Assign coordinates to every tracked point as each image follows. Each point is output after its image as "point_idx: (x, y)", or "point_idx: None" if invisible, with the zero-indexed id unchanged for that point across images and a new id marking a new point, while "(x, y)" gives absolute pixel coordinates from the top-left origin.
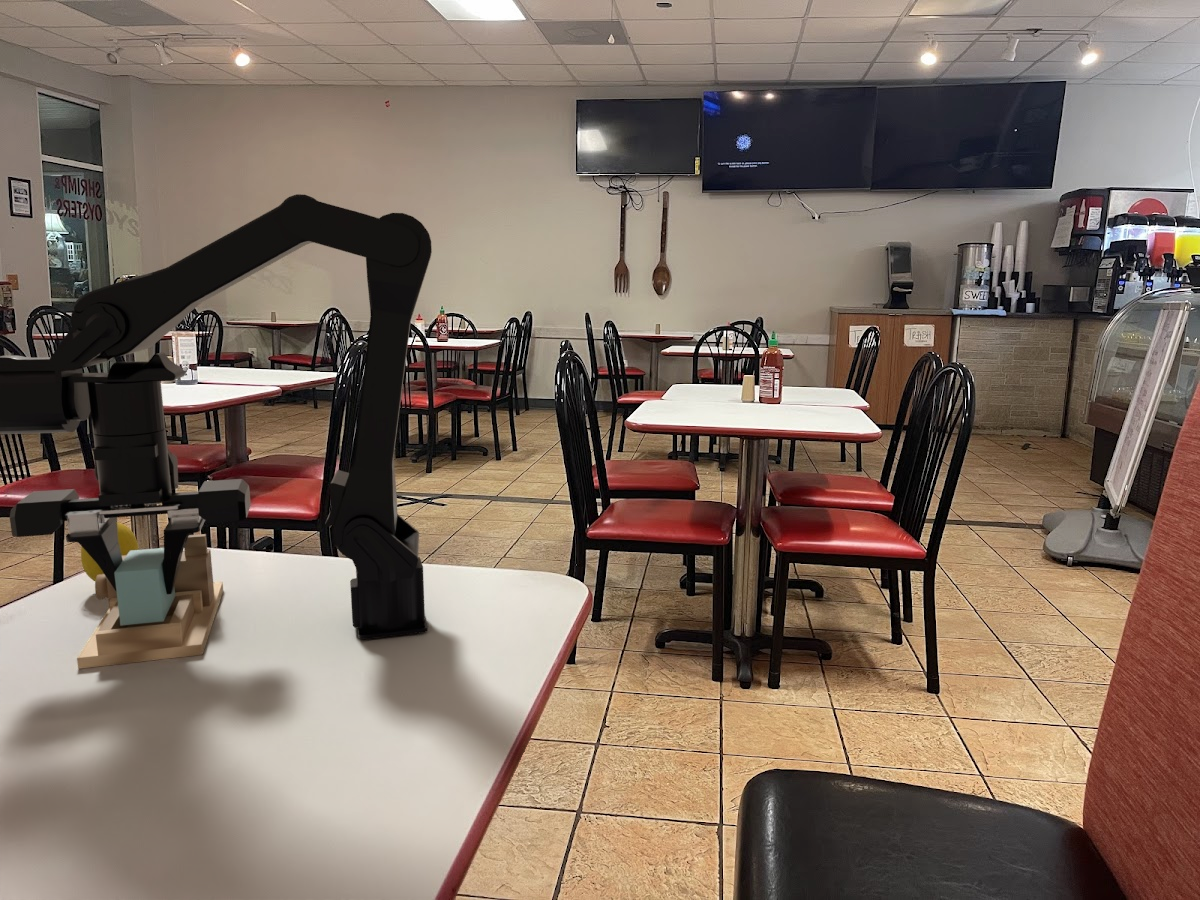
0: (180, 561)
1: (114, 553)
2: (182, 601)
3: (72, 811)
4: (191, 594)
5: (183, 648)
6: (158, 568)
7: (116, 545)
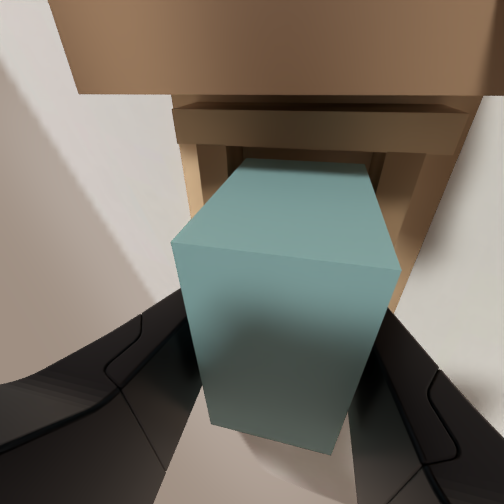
0: (440, 91)
1: (167, 420)
2: (382, 214)
3: (278, 451)
4: (421, 154)
5: None
6: (331, 451)
7: (141, 408)
